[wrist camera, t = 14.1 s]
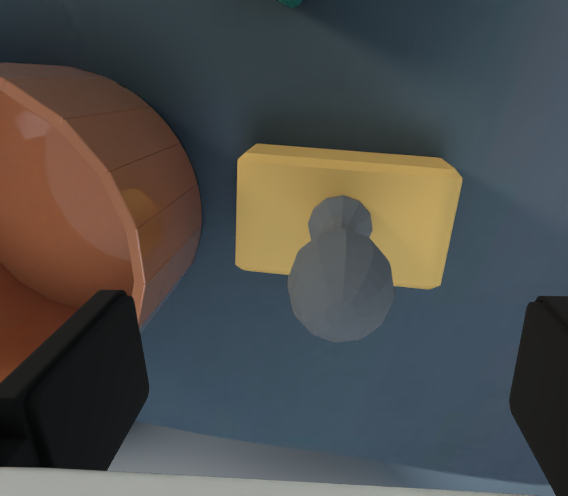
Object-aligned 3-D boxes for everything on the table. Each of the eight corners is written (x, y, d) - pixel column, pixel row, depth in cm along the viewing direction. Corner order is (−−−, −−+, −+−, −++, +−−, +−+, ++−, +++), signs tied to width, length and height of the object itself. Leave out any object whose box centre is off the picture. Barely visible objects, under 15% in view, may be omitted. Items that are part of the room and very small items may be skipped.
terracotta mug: (187, 61, 22) (109, 52, 15) (213, 318, 27) (165, 408, 20) (-134, 74, 24) (-343, 71, 17) (-54, 309, 29) (-187, 387, 22)
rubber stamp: (248, 245, 25) (175, 377, 14) (251, 142, 23) (168, 201, 12) (425, 262, 24) (499, 419, 13) (446, 157, 22) (554, 236, 11)
